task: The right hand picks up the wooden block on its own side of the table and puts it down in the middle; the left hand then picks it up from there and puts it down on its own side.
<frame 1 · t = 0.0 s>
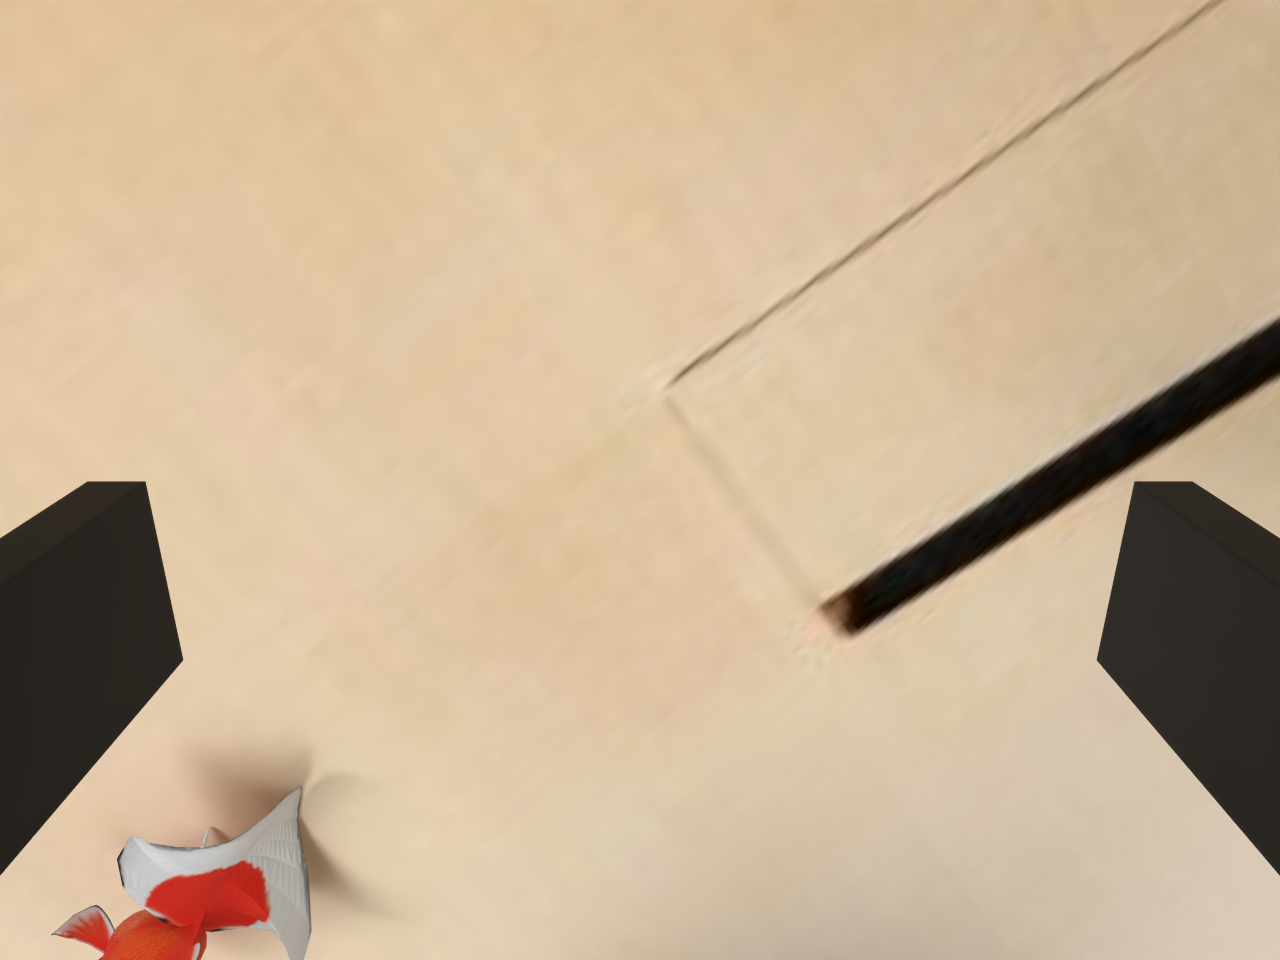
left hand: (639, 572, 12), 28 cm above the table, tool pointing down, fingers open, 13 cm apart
fish: (224, 847, 50), on the table
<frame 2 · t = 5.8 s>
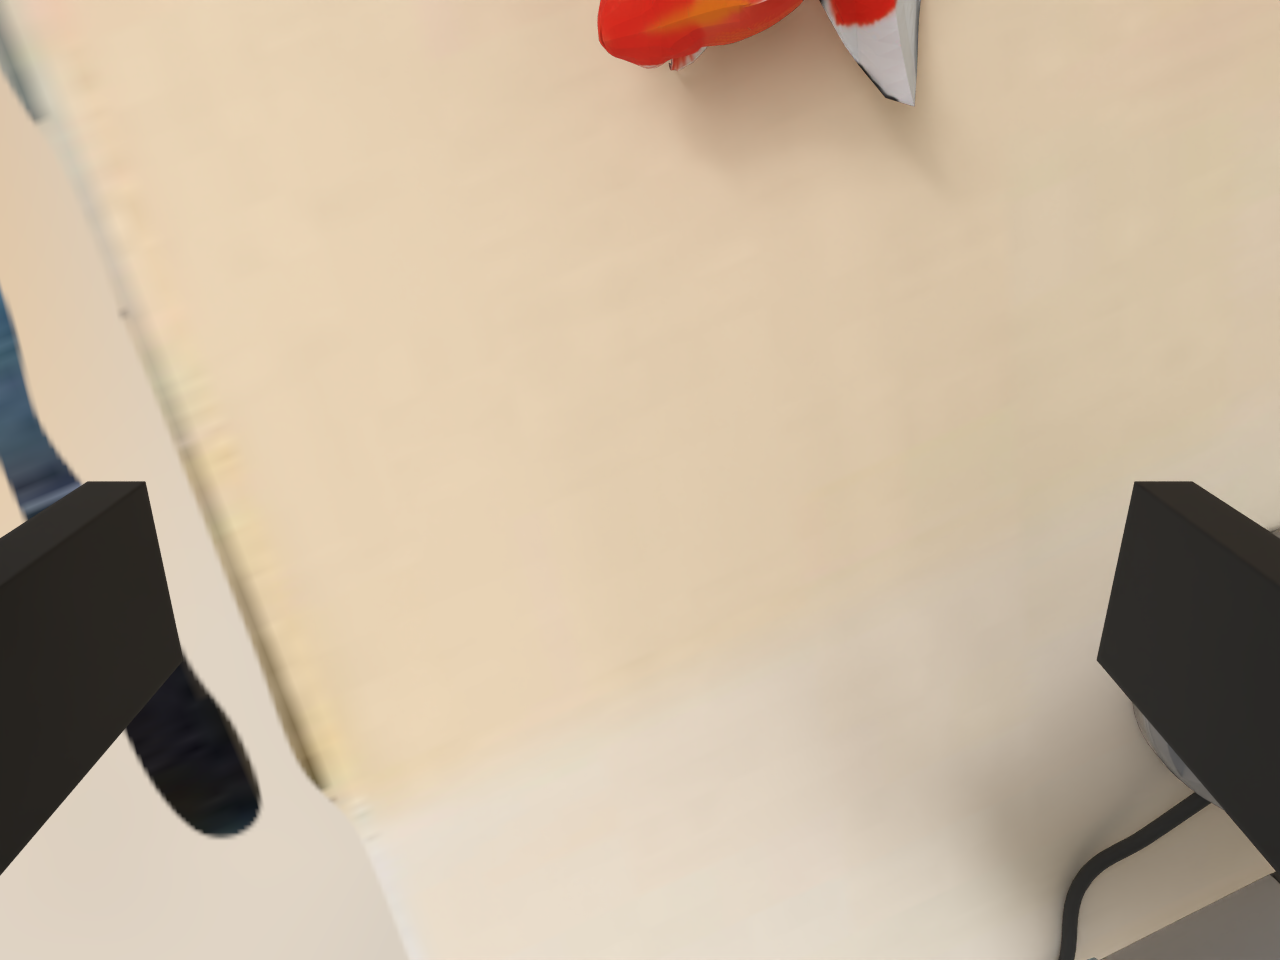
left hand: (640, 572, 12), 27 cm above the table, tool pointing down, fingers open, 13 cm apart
when the right hand's fingers open (3 cm above the table, at t = 16.5 s): block stays where it is, on the table.
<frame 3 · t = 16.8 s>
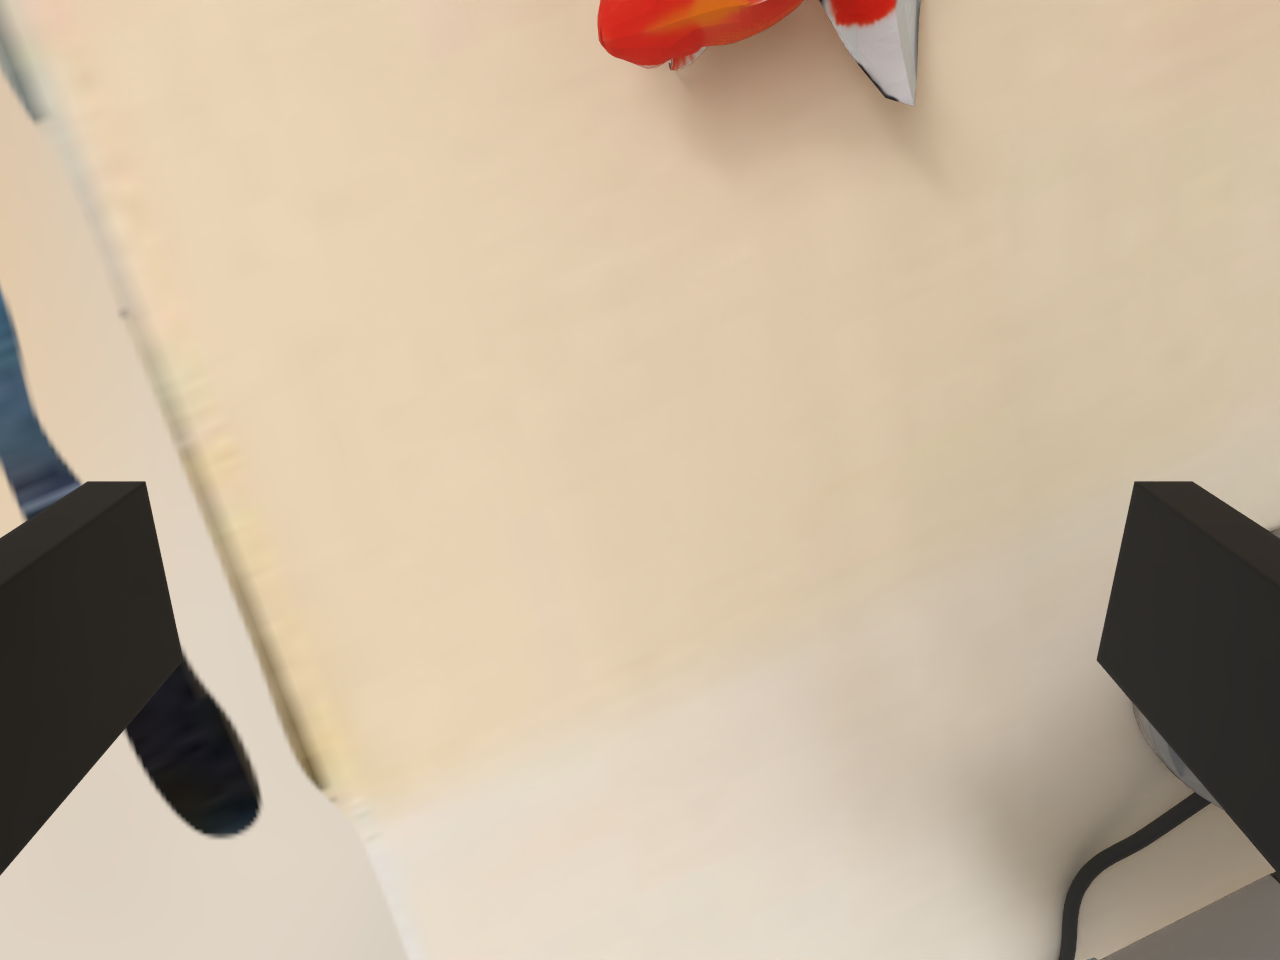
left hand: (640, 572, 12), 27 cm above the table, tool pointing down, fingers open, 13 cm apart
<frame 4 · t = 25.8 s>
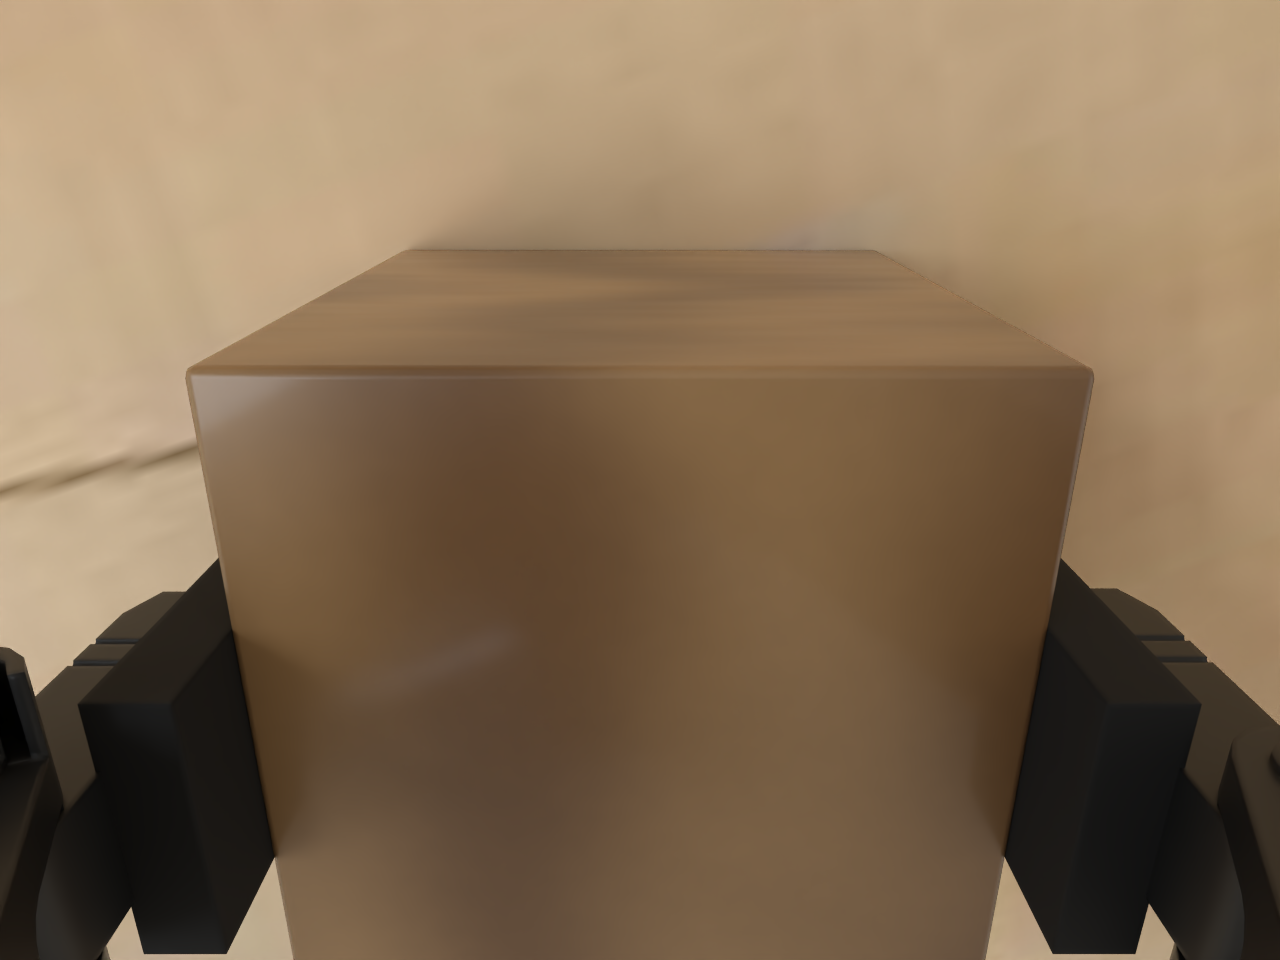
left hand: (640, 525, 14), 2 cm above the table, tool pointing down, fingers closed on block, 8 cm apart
block: (639, 478, 16), on the table, touching left hand
when the left hand's fingers open (3 cm above the table, at t = 32.4 s): block drops 1 cm, on the table.
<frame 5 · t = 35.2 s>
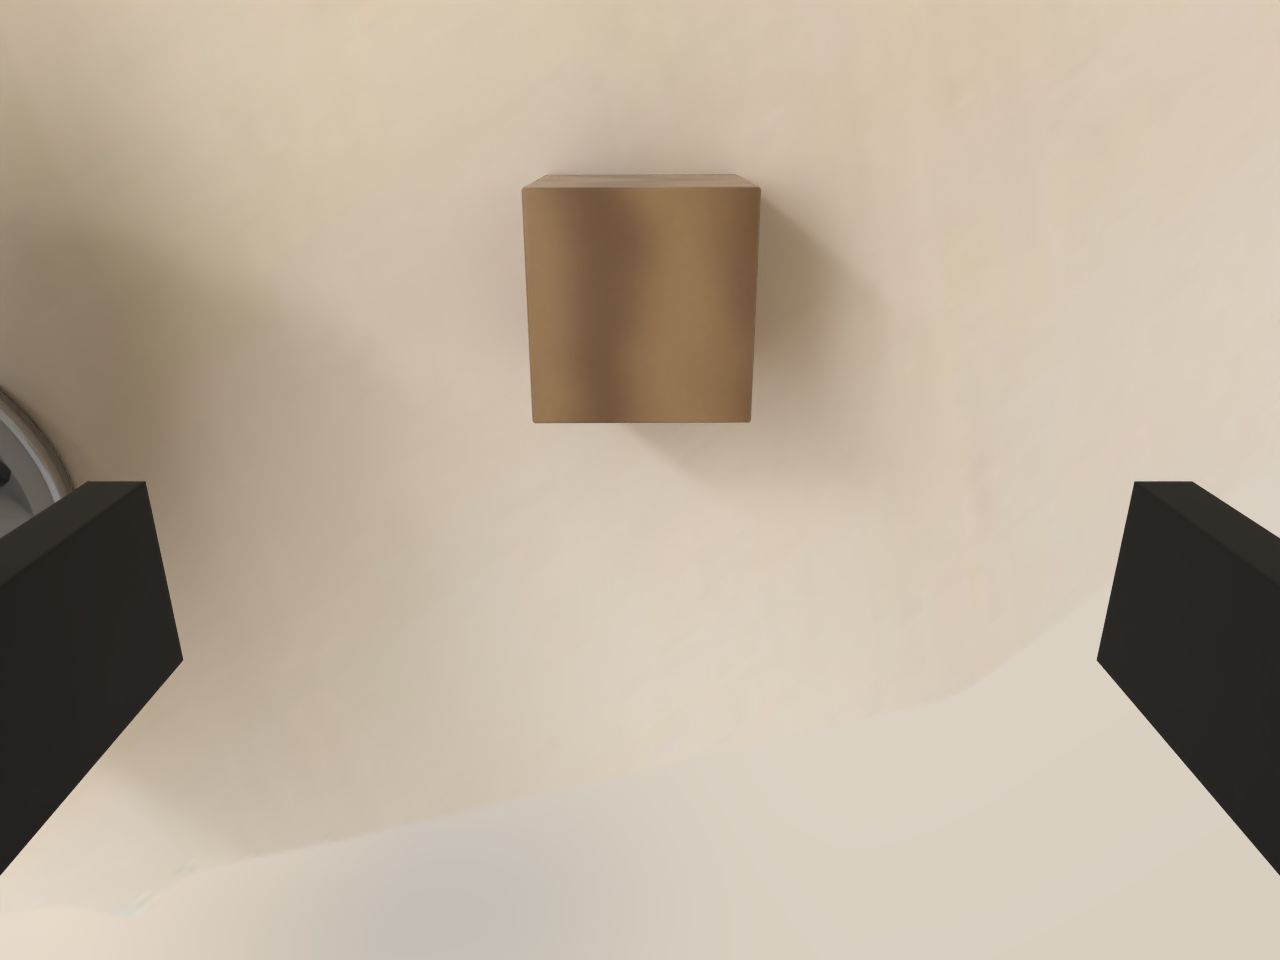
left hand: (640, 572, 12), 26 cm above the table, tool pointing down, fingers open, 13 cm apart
block: (640, 275, 37), on the table
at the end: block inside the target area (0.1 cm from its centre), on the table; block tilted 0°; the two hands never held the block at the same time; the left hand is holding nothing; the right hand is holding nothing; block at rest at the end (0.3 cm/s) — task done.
